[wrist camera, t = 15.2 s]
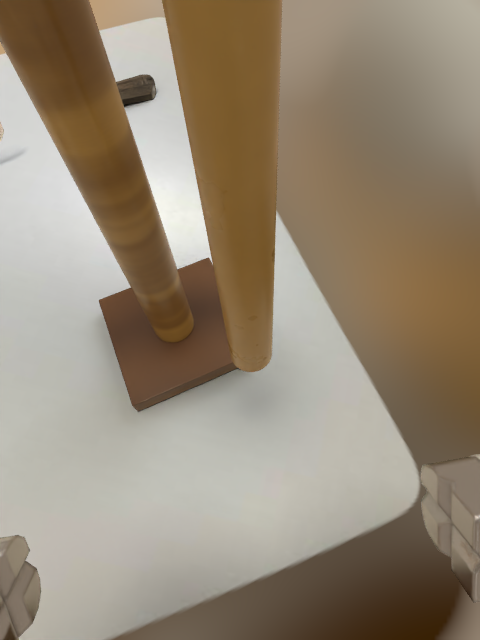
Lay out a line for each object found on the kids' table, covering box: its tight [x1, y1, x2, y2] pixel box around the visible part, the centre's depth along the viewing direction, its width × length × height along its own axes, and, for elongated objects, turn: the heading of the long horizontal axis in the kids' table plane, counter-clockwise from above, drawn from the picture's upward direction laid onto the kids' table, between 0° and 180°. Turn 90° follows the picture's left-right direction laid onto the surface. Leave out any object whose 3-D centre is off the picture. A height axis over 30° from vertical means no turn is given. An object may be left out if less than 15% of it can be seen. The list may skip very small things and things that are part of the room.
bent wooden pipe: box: [162, 0, 282, 372], centre depth 16 cm, size 12×4×18 cm, turn 45°
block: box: [116, 75, 156, 105], centre depth 49 cm, size 4×6×2 cm, turn 116°
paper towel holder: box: [0, 0, 238, 411], centre depth 23 cm, size 10×10×26 cm
